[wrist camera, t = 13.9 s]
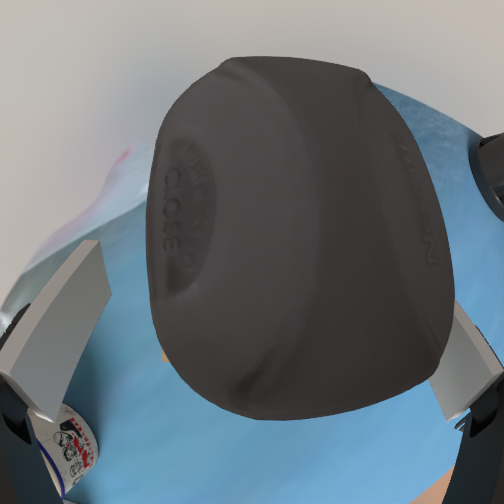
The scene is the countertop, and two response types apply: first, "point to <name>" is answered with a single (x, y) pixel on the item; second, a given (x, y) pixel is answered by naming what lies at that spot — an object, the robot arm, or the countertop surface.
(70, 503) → the flask
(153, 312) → the coffee jar
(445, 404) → the robot arm
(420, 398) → the countertop surface
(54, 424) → the teacup with lid
